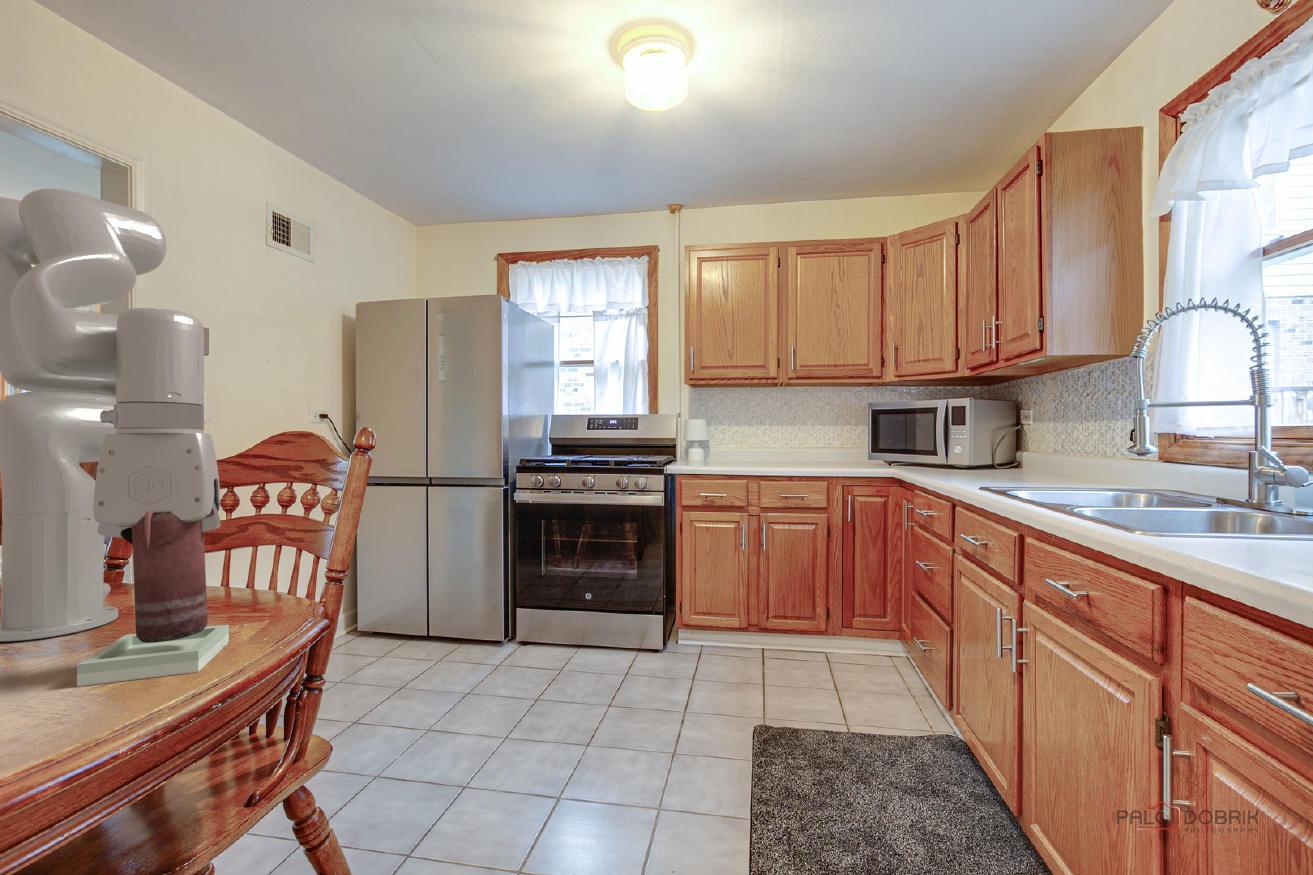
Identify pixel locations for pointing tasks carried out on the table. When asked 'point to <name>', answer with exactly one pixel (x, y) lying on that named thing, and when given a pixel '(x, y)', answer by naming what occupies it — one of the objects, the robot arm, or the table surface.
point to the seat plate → (152, 657)
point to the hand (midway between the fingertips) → (161, 585)
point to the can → (168, 577)
